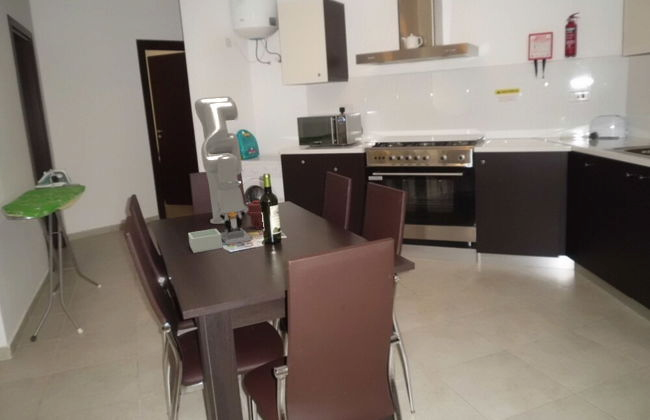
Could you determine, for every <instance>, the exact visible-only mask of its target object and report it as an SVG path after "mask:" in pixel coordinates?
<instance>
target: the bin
mask: <svg viewBox="0 0 650 420" xmlns="http://www.w3.org/2000/svg"><path fill="white" fill-rule="evenodd" d="M220 233H221V232H219V230H218V229H217V228H211V229H205V230H199V231H192V232H188V233H187V234H188V242H189V247H190V249H191V251H192V252H193V254H194V253H195V254H196V253H200V252H207V251H212V250H218V249H223V240H222V238H221V234H220Z"/></svg>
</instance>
